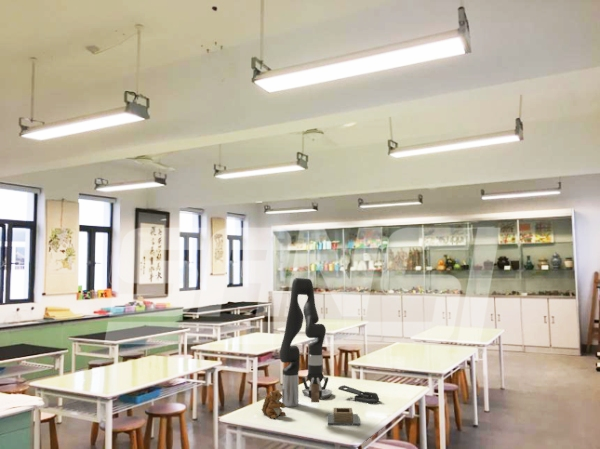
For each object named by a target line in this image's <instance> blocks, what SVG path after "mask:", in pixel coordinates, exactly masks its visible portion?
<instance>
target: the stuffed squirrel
mask: <svg viewBox="0 0 600 449" xmlns="http://www.w3.org/2000/svg"><path fill="white" fill-rule="evenodd" d="M282 397H283V396H282V392H280V391H279V389H275V390H273V391H269V394H266V395H265V398H264V402H263V404H262V408H261V411H262V414H263V415H265V414H267V415H266V416H267V417H268V418H269V417H271V418H270V419H272V418H276V419H277V417H279V415H282V416H285V415H286V412H284V411H283V409H285V408H286V406H285V404H284V403H282V401H280V400H282ZM283 398H284V397H283ZM276 416H277V417H276Z"/></svg>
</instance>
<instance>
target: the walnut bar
mask: <svg viewBox="0 0 600 449" xmlns="http://www.w3.org/2000/svg"><path fill="white" fill-rule="evenodd" d="M310 402H311V403H320V399H319V384H311V398H310Z"/></svg>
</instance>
